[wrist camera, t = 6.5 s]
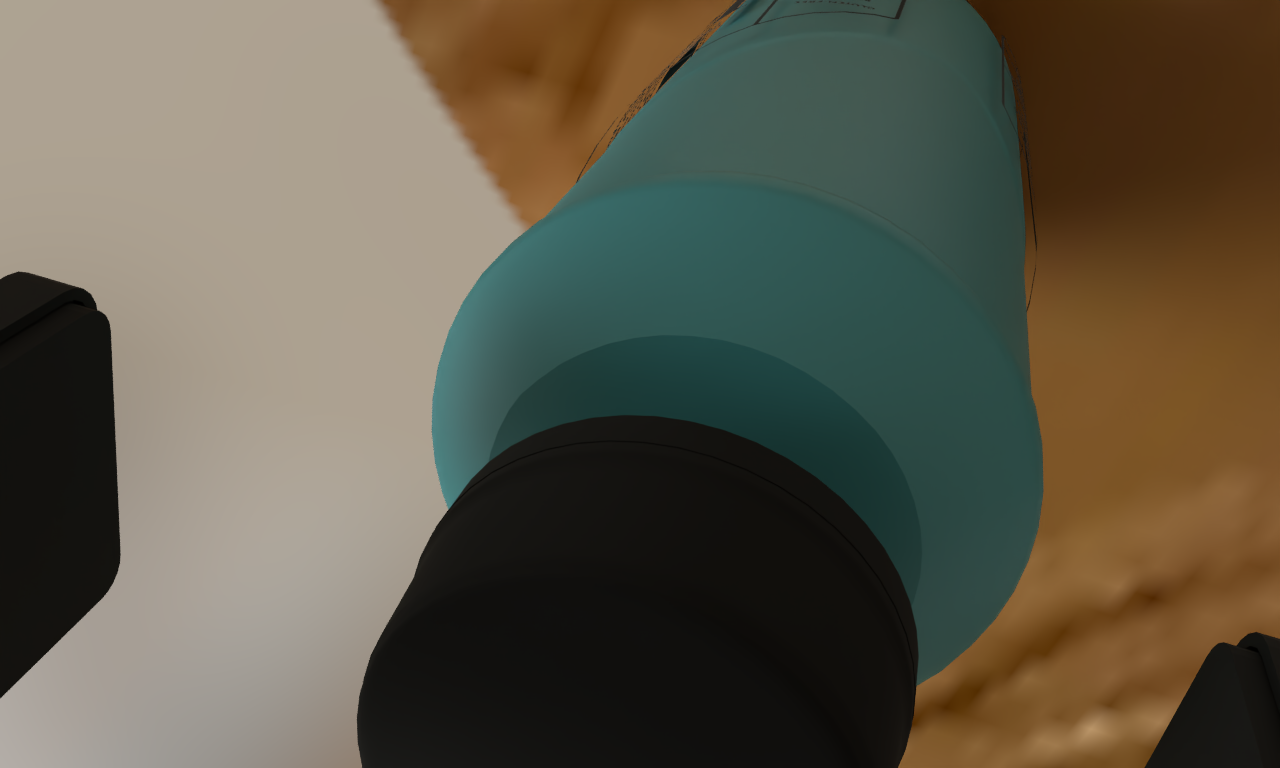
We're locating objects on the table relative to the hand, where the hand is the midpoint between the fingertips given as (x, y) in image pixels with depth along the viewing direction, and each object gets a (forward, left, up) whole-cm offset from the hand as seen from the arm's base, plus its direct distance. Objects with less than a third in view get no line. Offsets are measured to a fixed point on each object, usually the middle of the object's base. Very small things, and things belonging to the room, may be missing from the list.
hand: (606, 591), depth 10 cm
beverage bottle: (0, 0, -18) cm, 18 cm away
